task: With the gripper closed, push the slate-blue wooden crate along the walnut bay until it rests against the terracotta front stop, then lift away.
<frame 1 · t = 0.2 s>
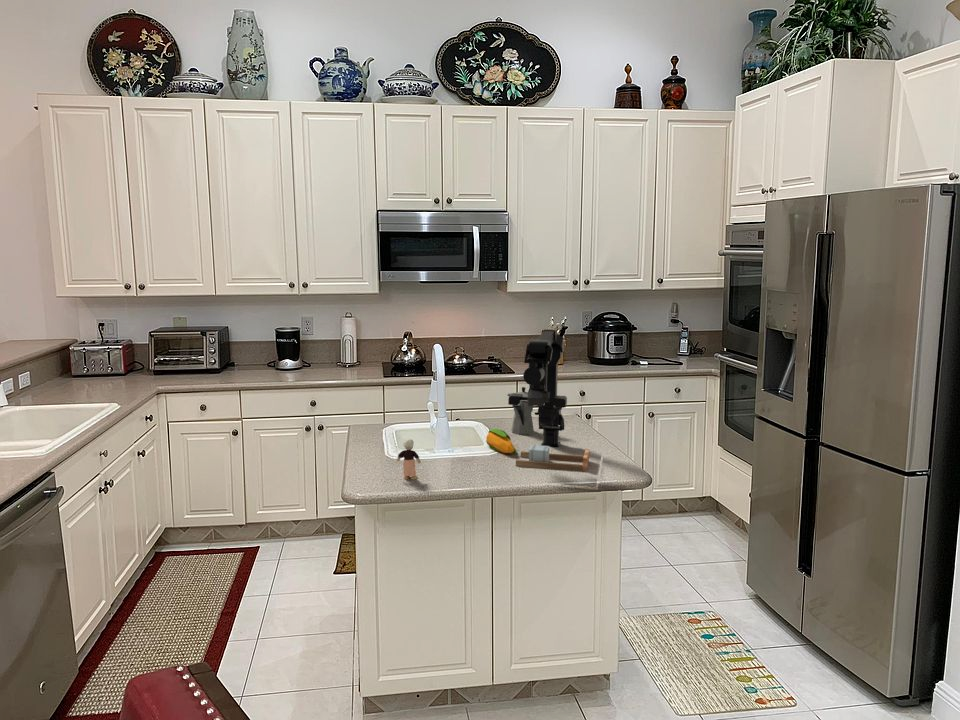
hand: (537, 425, 235), 14 cm above the worktop, fingers open, 9 cm apart
crate: (539, 455, 240), point 3 cm above the worktop, slide at 0.0 cm
bay: (550, 465, 239), on the worktop
coffeepot: (525, 432, 282), on the worktop
grandmother figurine: (408, 478, 225), on the worktop
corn: (502, 452, 255), on the worktop
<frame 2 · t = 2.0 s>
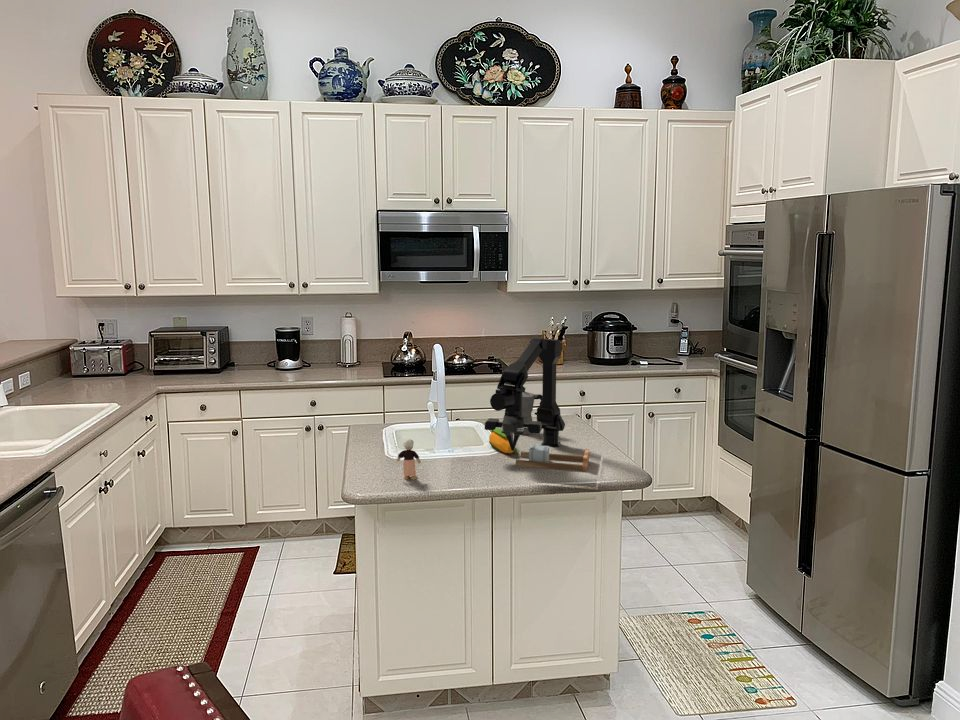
hand: (512, 450, 242), 4 cm above the worktop, fingers closed
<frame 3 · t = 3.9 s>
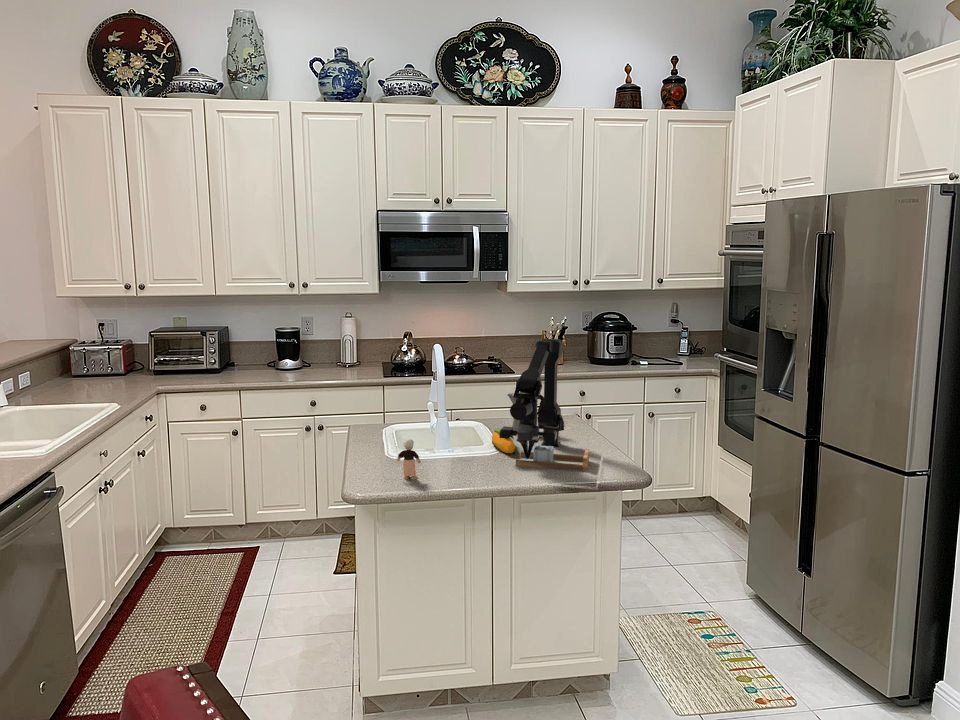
hand: (527, 458, 241), 2 cm above the worktop, fingers closed
crate: (543, 455, 239), point 3 cm above the worktop, slide at 1.5 cm, touching gripper
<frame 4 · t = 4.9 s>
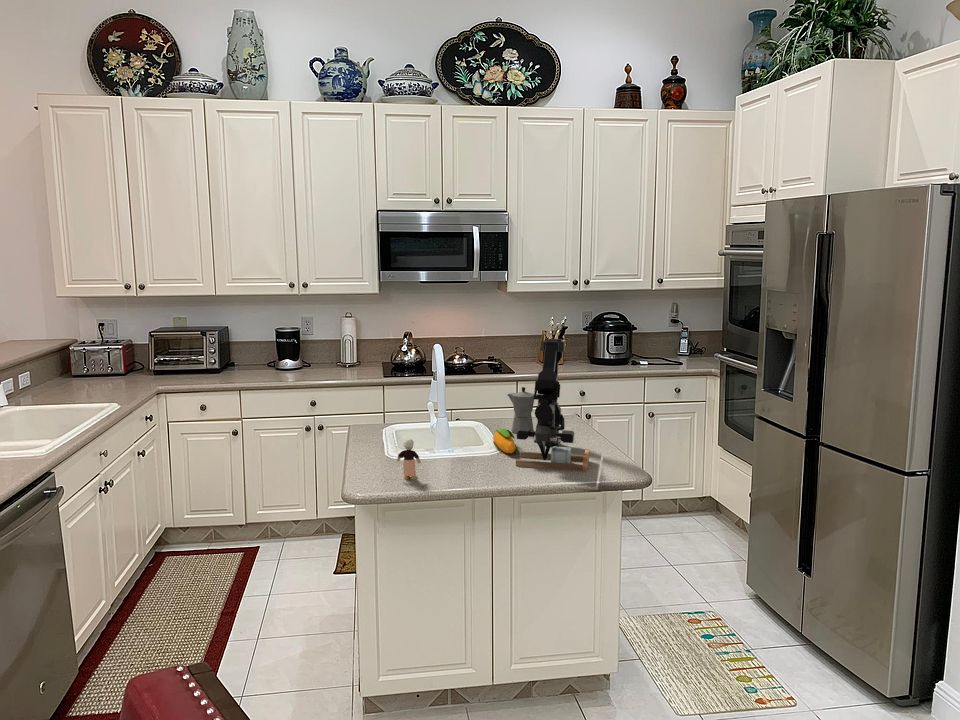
hand: (544, 459, 240), 2 cm above the worktop, fingers closed
crate: (561, 456, 238), point 3 cm above the worktop, slide at 7.4 cm, touching gripper
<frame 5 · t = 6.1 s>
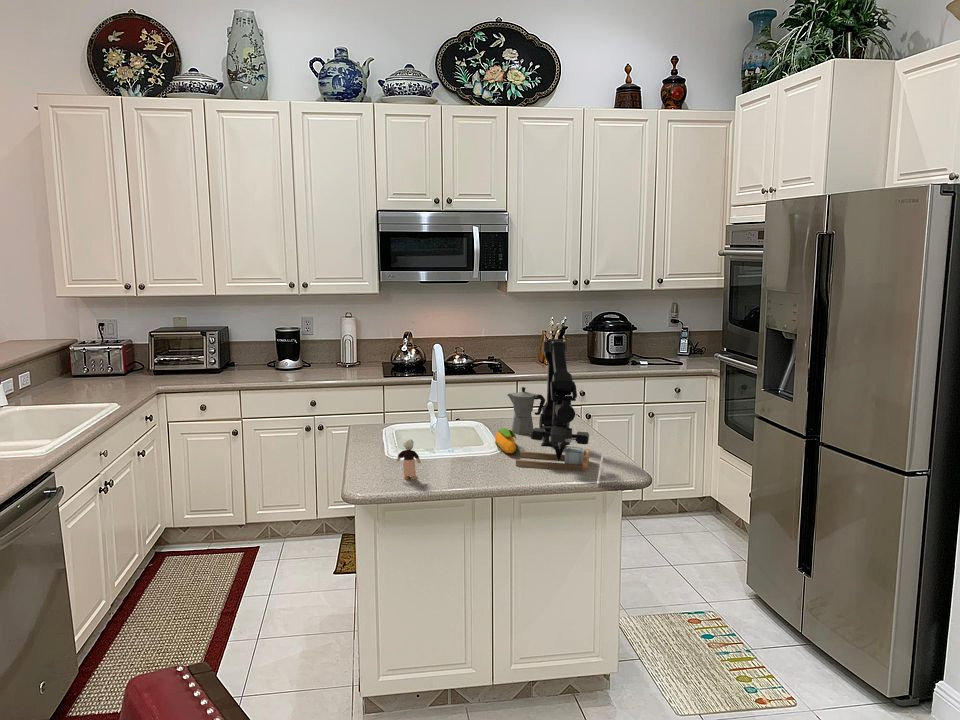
hand: (558, 460, 239), 2 cm above the worktop, fingers closed
crate: (574, 457, 237), point 3 cm above the worktop, slide at 11.9 cm, touching gripper
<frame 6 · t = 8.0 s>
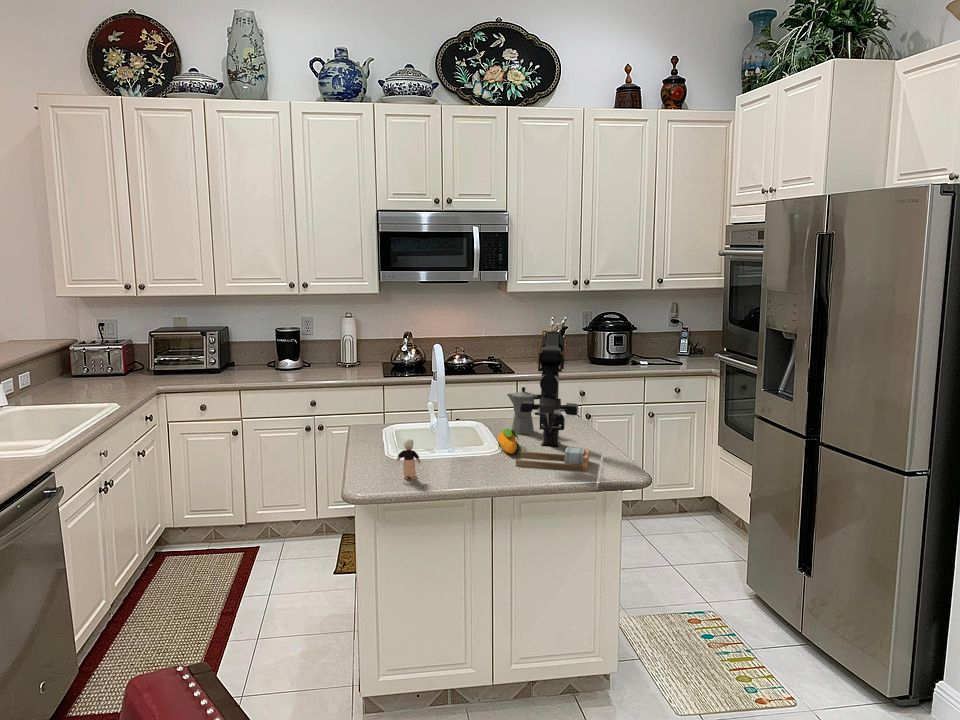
hand: (548, 433, 238), 11 cm above the worktop, fingers closed
crate: (574, 457, 237), point 3 cm above the worktop, slide at 11.8 cm
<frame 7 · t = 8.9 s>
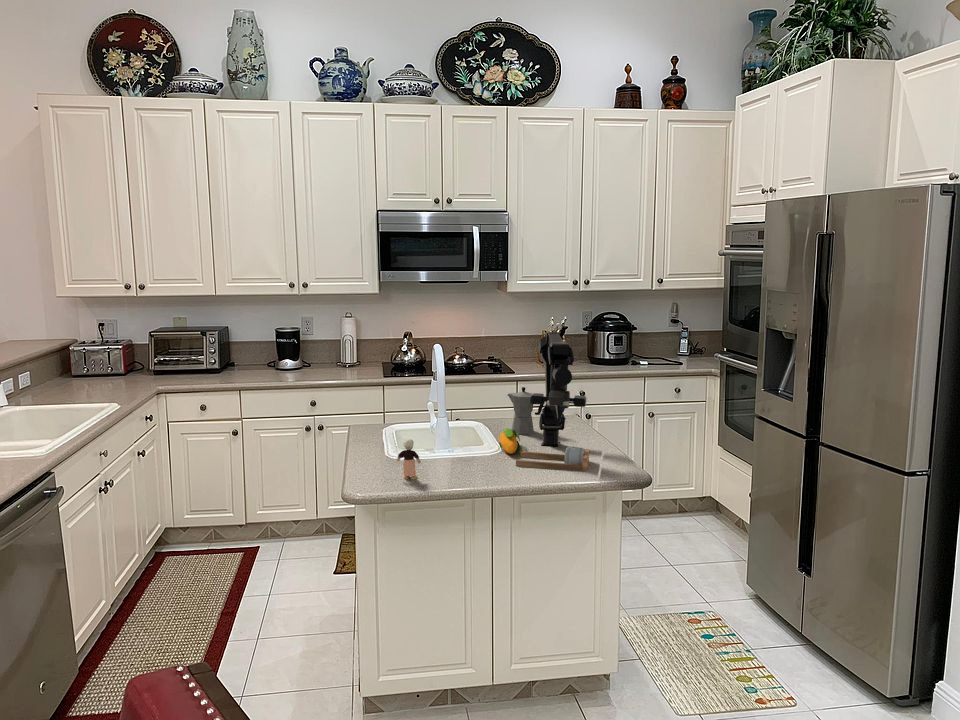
hand: (557, 424, 246), 12 cm above the worktop, fingers closed
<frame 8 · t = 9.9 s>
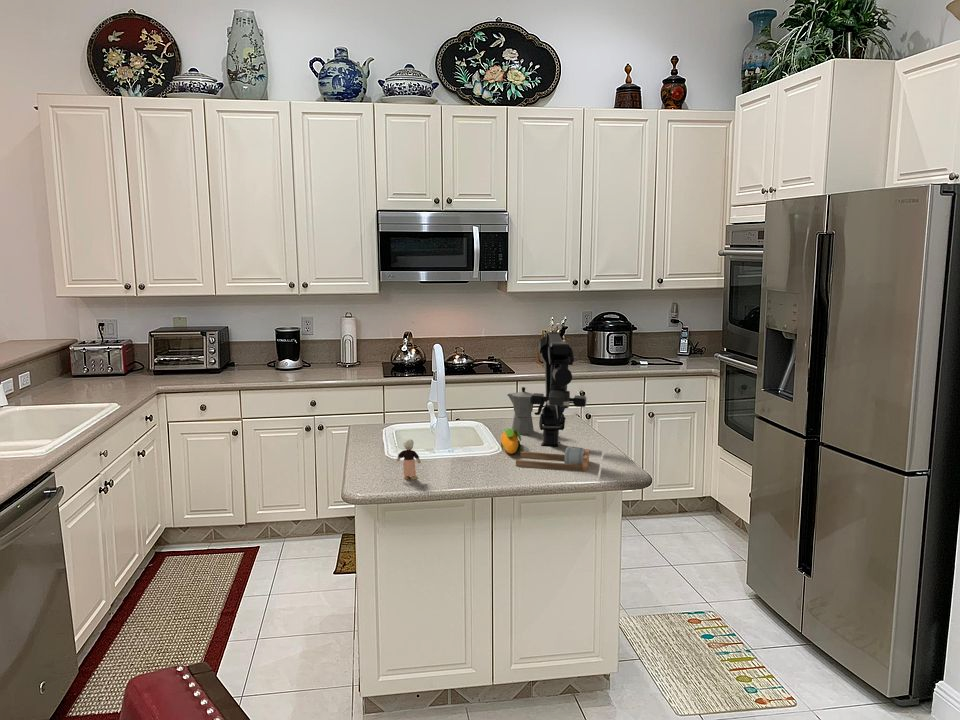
hand: (557, 424, 246), 12 cm above the worktop, fingers closed
at the end: crate slide at 11.8 cm; crate touching nothing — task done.
